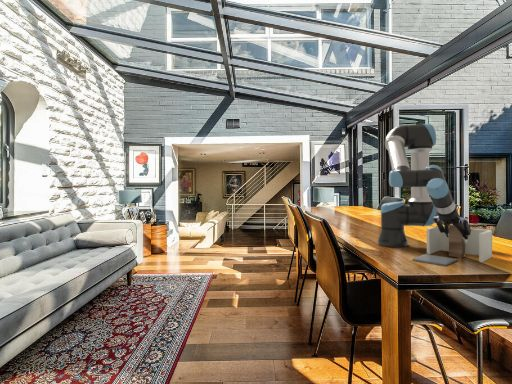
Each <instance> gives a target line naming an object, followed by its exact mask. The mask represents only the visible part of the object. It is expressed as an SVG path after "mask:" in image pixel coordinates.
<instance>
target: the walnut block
mask: <svg viewBox="0 0 512 384" xmlns="http://www.w3.org/2000/svg"><path fill="white" fill-rule="evenodd" d="M463 227H464V226H463ZM465 256H466V254H465V244H464V241H463V238H462V234H461V233H460V231H459V230H458V229H457V228H456V227H455V226H454V225H453V224H449V251H448V257H452V258H459V259H462V258H464V257H465Z"/></svg>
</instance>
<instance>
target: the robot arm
mask: <svg viewBox="0 0 512 384" xmlns="http://www.w3.org/2000/svg"><path fill="white" fill-rule="evenodd" d="M436 144H437V134H436V130H435V127H434V126H433V124H431V123H418V124H416V123H415V124H402V125H399V126H395V127H394V128H392V129H390V131H388V133H387V135H386V136H385V137H384V147H385V149H386V150H387V151H388V152H387V153H388V155H389V157H388V158H389V161H390V167H391V170H390V171H389V175H388V183H389V186H390V187H392V188H410V198H409V199H408V201H407V203H406V204H405V202H404V201H391V202H385V203H383V204H382V205H381V206H380V231H379V236H378V238H377V245H379V246H381V247H382V246H383V247H388V248H404V247H408V246H409V244H408V243H409V241H408V239H407V236H406V233H405V226H407V227H411V226H412V227H430V226H432V225H434V223H436V226H438V228H439V231H440V232H441V233H443V232H444V233H445V234H446V236H447V237H449V226H450V225H454V226H455V227H456V228H457V229H458V230H459V231H460V233H461V234H462V238H463V241H464V244H465V245H467V242H468V235H470V233H471V229H472V228H471V226H470V223H469V221H468V219H469V217H468V216H464V217H462V216H461V215H460V214H459V212H458V208H457V206H456V204H455V202H454V198H453V197H452V194H451V191H450V188H449V185H448V183H447V181H446V177H445V174H444V172H443V169H442V168H441V167H440V166H439V165H436V164H431V165H430V152H431V151H432V150H433V147H434V146H436ZM405 148H407V152H409V153H410V163H409V159H408V157H407V156H408V155H407V153H406V149H405ZM460 221H461V222H460ZM463 226H464V227H463ZM444 227H445V229H444Z"/></svg>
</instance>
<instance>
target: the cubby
mask: <svg viewBox="0 0 512 384" xmlns="http://www.w3.org/2000/svg"><path fill="white" fill-rule="evenodd" d="M444 229H445V227H444ZM470 229H471V233H470V235H468V242H467V245H465V255H472V256H478V262H479V263H484V262H485V261H487V260H489V259H491V258H492V257H493V234H492V231H493V229H487V230H482V229H483V228H470ZM439 251H444V252H449V237H447V236H446V234H445V233H444V232H443V233H441V232H440V231H439V228H438V226H437V225H436V226H432V227H428V228H426V254H428V255H432V254H434V253H436V252H439Z"/></svg>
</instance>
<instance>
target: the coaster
mask: <svg viewBox="0 0 512 384" xmlns="http://www.w3.org/2000/svg"><path fill="white" fill-rule="evenodd" d="M411 260H412V261H414V262H419V263H424V264H431V265H437V266H442V267H446V266H448V265H450V264H453V263H454V262H456V261H457V258H455V257H449V256H448V257H447V256H440V255H433V254H427V253H424V254H421V255H419V256H416V257H414V258H412V259H411Z"/></svg>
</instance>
